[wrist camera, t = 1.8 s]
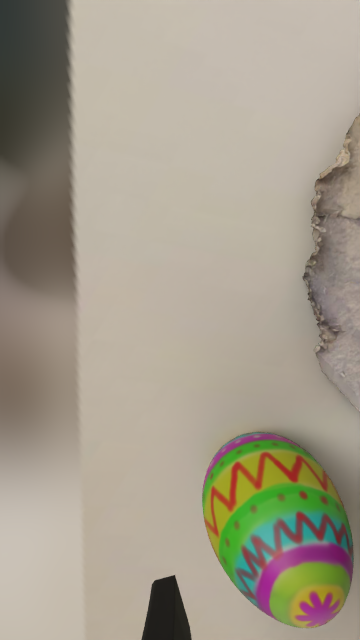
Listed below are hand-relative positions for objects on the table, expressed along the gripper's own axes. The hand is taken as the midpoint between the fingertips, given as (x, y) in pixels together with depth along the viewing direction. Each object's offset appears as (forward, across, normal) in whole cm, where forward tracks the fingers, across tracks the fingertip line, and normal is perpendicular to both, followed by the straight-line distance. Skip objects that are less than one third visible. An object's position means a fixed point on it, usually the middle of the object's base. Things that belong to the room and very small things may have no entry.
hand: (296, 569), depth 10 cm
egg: (+5, 0, 0) cm, 5 cm away
